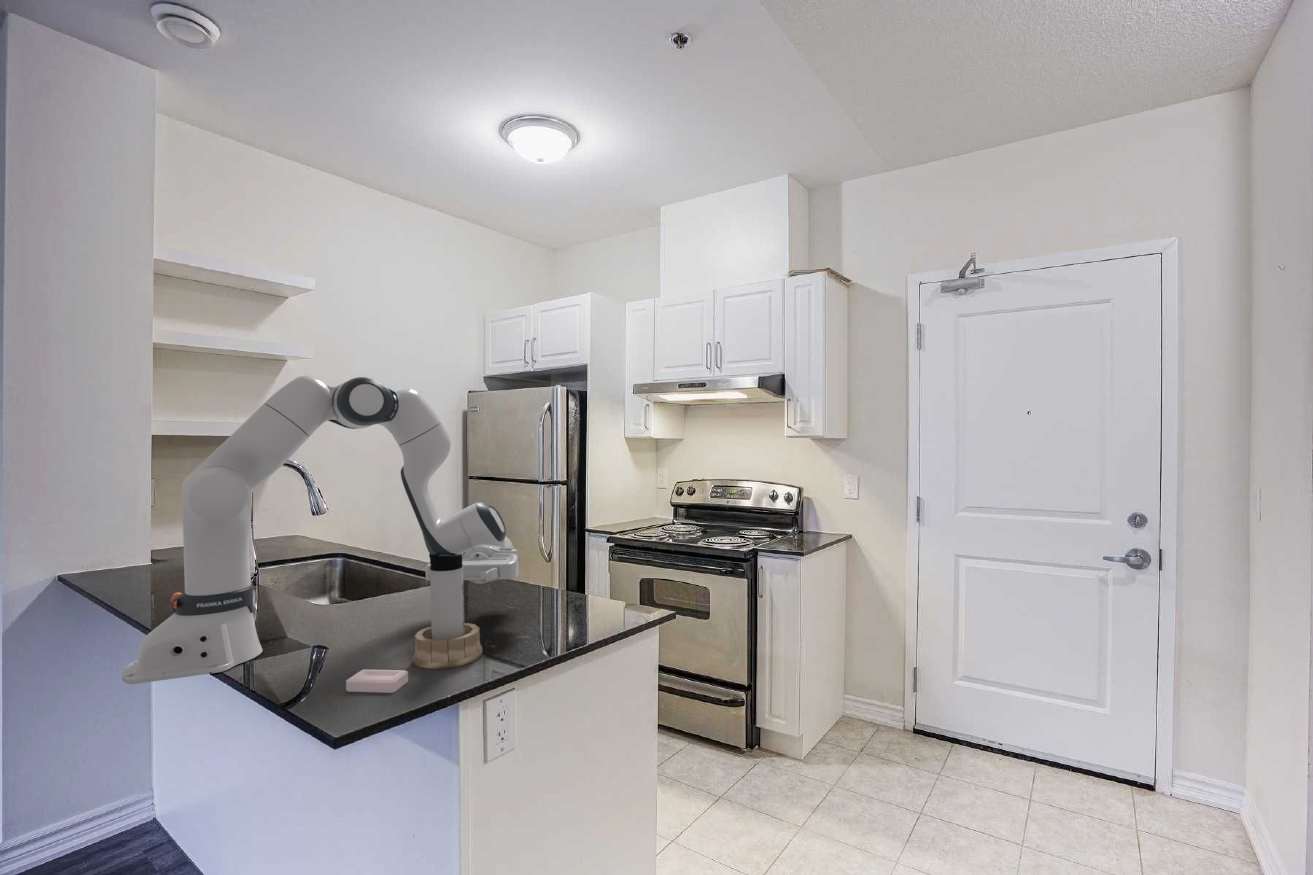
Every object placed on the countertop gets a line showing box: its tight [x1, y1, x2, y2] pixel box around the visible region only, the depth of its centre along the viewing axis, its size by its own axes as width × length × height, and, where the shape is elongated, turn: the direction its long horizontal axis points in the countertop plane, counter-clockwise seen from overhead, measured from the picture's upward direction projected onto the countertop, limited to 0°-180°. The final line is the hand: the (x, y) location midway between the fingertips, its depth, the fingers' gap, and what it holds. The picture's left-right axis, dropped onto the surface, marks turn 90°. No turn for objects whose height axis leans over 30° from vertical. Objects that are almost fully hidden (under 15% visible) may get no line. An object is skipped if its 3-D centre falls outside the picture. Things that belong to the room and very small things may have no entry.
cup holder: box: [412, 622, 483, 670], centre depth 129 cm, size 13×13×5 cm
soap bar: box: [345, 668, 409, 694], centre depth 115 cm, size 5×9×2 cm, turn 83°
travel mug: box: [428, 553, 465, 640], centre depth 129 cm, size 6×7×20 cm
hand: (462, 577), depth 138 cm, fingers open, 8 cm apart
